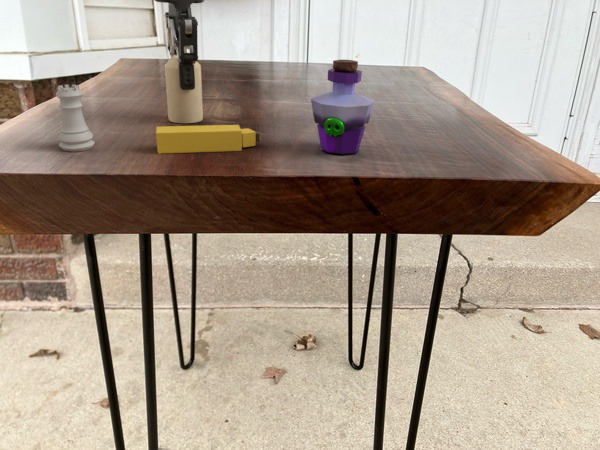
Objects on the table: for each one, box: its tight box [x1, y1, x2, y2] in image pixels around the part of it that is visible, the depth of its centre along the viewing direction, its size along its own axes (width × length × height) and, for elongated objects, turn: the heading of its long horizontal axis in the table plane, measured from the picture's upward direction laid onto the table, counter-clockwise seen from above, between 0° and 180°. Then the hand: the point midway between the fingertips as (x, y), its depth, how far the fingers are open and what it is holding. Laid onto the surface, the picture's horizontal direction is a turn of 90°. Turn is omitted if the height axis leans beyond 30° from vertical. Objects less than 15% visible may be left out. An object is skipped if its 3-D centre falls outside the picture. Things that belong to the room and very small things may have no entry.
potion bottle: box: [310, 59, 376, 157], centre depth 71 cm, size 9×9×12 cm
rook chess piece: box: [55, 84, 96, 153], centre depth 68 cm, size 4×4×8 cm
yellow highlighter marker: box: [155, 124, 260, 155], centre depth 71 cm, size 14×4×3 cm, turn 102°
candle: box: [164, 55, 204, 124], centre depth 83 cm, size 6×6×10 cm
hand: (184, 85), depth 83 cm, fingers closed on candle, 5 cm apart
